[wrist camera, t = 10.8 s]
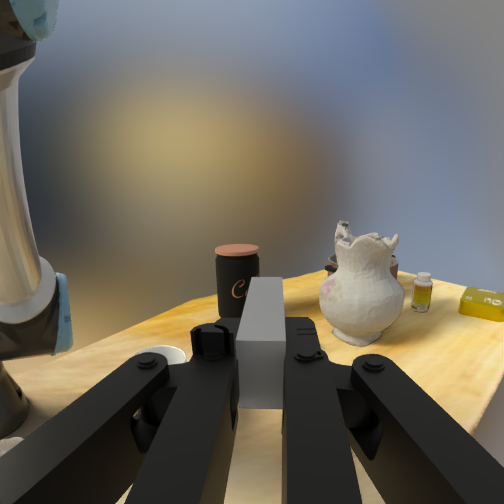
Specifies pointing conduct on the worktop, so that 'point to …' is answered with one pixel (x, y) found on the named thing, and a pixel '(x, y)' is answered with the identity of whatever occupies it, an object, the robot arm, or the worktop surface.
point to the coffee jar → (235, 277)
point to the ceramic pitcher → (361, 287)
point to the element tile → (482, 304)
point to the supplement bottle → (422, 292)
